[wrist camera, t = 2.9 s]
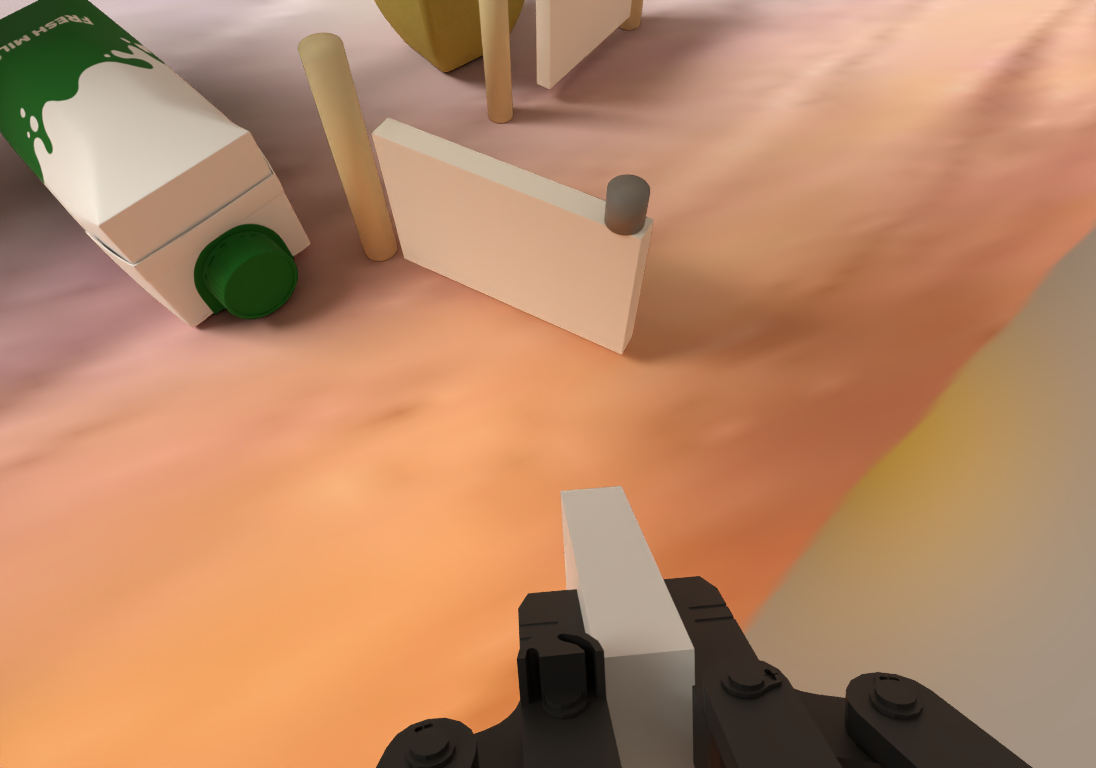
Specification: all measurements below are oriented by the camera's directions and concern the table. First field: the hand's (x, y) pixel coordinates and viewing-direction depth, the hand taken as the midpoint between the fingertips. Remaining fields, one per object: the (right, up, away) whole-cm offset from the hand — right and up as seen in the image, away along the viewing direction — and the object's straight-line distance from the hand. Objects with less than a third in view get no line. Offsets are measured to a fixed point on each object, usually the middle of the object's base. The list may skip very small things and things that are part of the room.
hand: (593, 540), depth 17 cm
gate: (-3, +8, +18) cm, 20 cm away
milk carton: (-30, +22, +22) cm, 43 cm away
